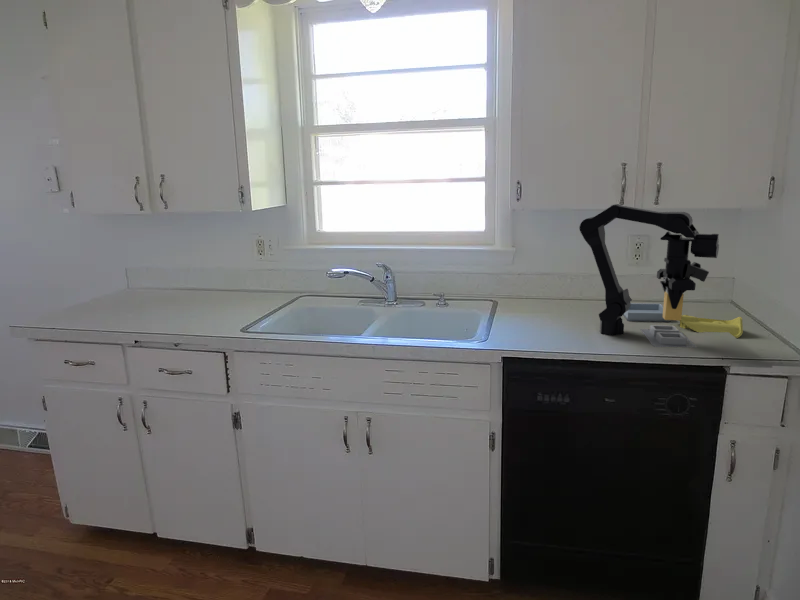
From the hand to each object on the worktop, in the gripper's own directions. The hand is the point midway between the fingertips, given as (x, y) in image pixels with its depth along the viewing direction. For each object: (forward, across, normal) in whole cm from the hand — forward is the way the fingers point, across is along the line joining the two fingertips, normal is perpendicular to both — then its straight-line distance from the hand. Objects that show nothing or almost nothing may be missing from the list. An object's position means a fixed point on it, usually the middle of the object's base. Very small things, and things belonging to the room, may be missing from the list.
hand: (672, 307), depth 168 cm
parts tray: (+12, +34, 0) cm, 36 cm away
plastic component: (+12, +16, -14) cm, 25 cm away
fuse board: (+12, +3, 0) cm, 12 cm away
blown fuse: (+4, 0, 0) cm, 4 cm away
